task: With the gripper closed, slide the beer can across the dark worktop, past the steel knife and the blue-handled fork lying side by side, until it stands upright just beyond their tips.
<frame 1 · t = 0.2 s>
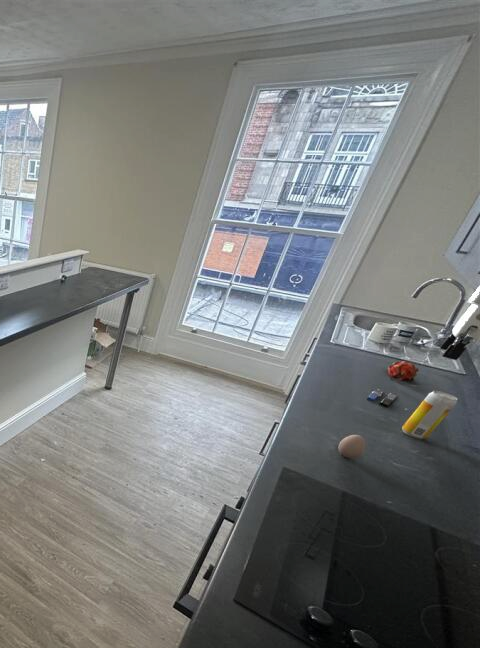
hand: (447, 353, 124), 25 cm above the worktop, tool pointing down, fingers open, 9 cm apart
egg: (344, 456, 115), on the worktop
beer can: (412, 434, 129), on the worktop
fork: (374, 395, 151), on the worktop
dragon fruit: (396, 380, 166), on the worktop
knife: (388, 400, 149), on the worktop
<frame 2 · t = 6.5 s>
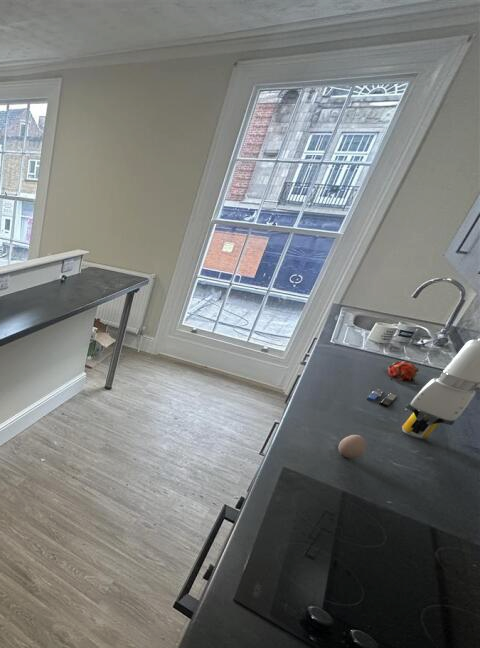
hand: (415, 431, 126), 3 cm above the worktop, tool pointing down, fingers closed
beer can: (412, 434, 130), on the worktop, touching gripper
everything else where it was.
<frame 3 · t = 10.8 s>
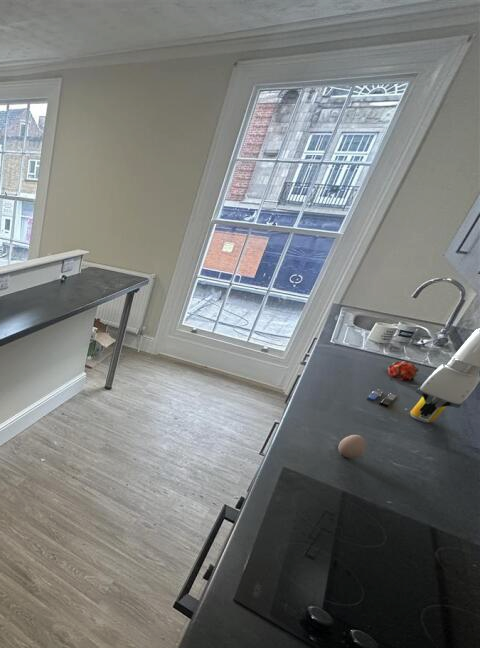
hand: (423, 414, 135), 3 cm above the worktop, tool pointing down, fingers closed
beer can: (420, 418, 139), on the worktop, touching gripper
everything else where it was.
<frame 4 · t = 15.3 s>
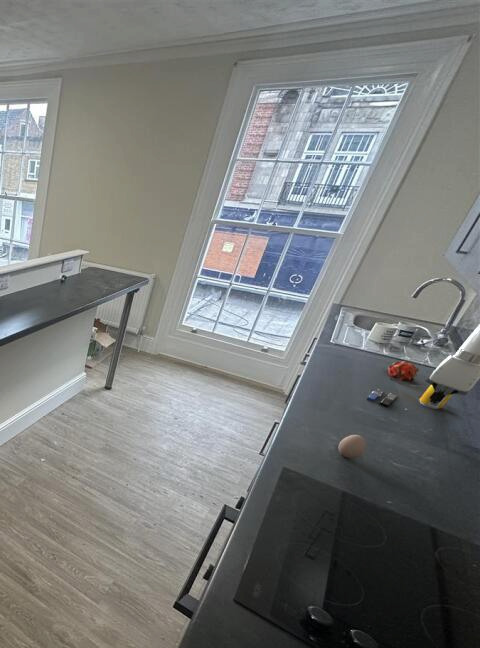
hand: (433, 401, 144), 3 cm above the worktop, tool pointing down, fingers closed
beer can: (428, 405, 149), on the worktop, touching gripper
everything else where it was.
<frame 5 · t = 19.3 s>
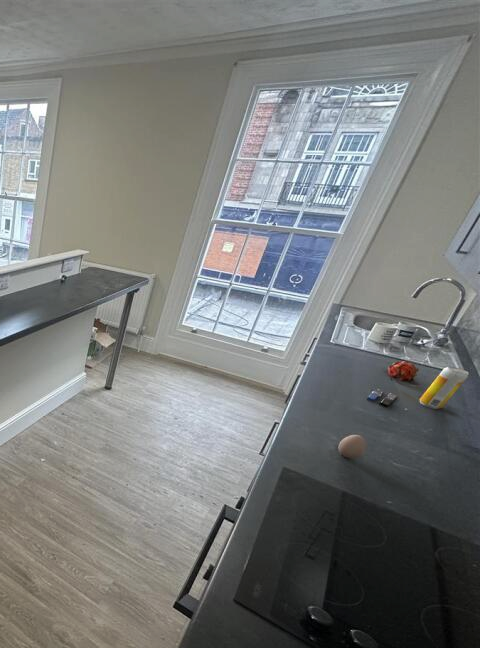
beer can: (428, 405, 149), on the worktop
everything else where it was.
at the end: beer can inside the target area on the worktop beside the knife (0.8 cm from its centre), on the worktop; beer can tilted 0°; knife moved 0.0 cm from its start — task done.
